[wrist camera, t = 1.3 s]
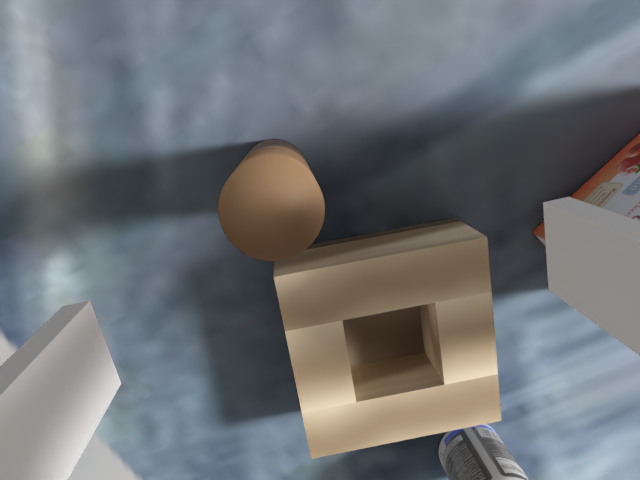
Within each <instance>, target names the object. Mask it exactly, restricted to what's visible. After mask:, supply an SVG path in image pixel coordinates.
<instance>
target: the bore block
mask: <svg viewBox="0 0 640 480" xmlns="http://www.w3.org/2000/svg"><path fill="white" fill-rule="evenodd" d="M274 281H275V286H276V291H277V296H278V300H279V305H280V310H281V315H282V320H283V325H284V329H285V334H286V339H287V344H288V349H289V354H290V358H291V363H292V368H293V373H294V378H295V382H296V387H297V392H298V397H299V402H300V407H301V411H302V416H303V421H304V426H305V431H306V436H307V440H308V445H309V450H310V455H311V459H313V458H318V457H323V456H328V455H333V454H338V453H343V452H348V451H353V450H358V449H363V448H368V447H373V446H378V445H383V444H388V443H393V442H398V441H403V440H408V439H413V438H418V437H423V436H428V435H433V434H438V433H443V432H448V431H453V430H458V429H462V428H467V427H472V426H477V425H482V424H487V423H492V422H497V421H501V409H500V396H499V383H498V369H497V356H496V343H495V330H494V317H493V304H492V291H491V278H490V264H489V251H488V238H487V236H485V235H483V234H482V233H480V232H478V231H477V230H475V229H473V228H472V227H470V226H468V225H467V224H465V223H463V222H462V221H460V220H458V219H457V218H451V219H446V220H440V221H435V222H429V223H424V224H419V225H413V226H408V227H403V228H397V229H392V230H386V231H381V232H376V233H370V234H365V235H359V236H354V237H349V238H343V239H338V240H332V241H327V242H322V243H316V244H311V245H310V246H309V247H308V248H307V249H306V250H304V251H303V252H302V253H300V254H298V255H296V256H294V257H292V258H289V259H285V260H281V261H274Z"/></svg>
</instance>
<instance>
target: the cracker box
mask: <svg viewBox="0 0 640 480" xmlns="http://www.w3.org/2000/svg"><path fill="white" fill-rule="evenodd" d="M571 198H574V199H577V200H580V201H583V202H586V203H589V204H592V205H594V206H597V207H600V208H603V209H606V210H609V211H612V212H615V213H617V214H620V215H623V216H626V217H629V218H632V219H635V220H638V221H640V133H639V134H638V135H637V136H636V137H635V138H634V139H633V140H632V141H631V142H629V143H628V144H627V145H626V146H625V147H624V148H623V149H622V150H621V151H620V152H619V153H617V154H616V155H615V156H614V157H613V158H612V159H611V160H610V161H609V162H608V163H607V164H606V165H604V166H603V167H602V168H601V169H600V170H599V171H598V172H597V173H596V174H595V175H594V176H592V177H591V178H590V179H589V180H588V181H587V182H586V183H585V184H584V185H583V186H582V187H580V188H579V189H578V190H577V191H576V192H575V193H574V194H573V195H572V196H571ZM533 233H534V234H535V235H536V236H537V238H538V239H539V240H540V241H541V242H542V243H543V244H544V245H545V247H546V243H545V227H544V221H543V222H542V223H541V224H540V225H539V226H538V227H537V228H536V229H535V230H534V231H533Z"/></svg>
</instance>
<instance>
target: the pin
mask: <svg viewBox="0 0 640 480" xmlns="http://www.w3.org/2000/svg"><path fill="white" fill-rule="evenodd" d="M218 213H219V220H220V223H221V227H222V229H223V231H224V233H225V235H226V236H227V238H228V239H229V241H230V242H231V243H232V244H233V245H234V246H235V247H236V248H237V249H238V250H240V251H241V252H242V253H244V254H246V255H248V256H250V257H252V258H255V259H259V260H263V261H281V260H285V259H289V258H292V257H294V256H296V255H298V254H300V253H302V252H303V251H304V250H306V249H307V248H308V247H309V246H310V245H311V244H312V243H313V242H314V240H315V239H316V238H317V236H318V234H319V232H320V230H321V228H322V225H323V222H324V216H325V204H324V198H323V194H322V192H321V189H320V187H319V185H318V183H317V181H316V179H315V177H314V176H313V174H312V172H311V170H310V168H309V166H308V164H307V162H306V161H305V159H304V157H303V155H302V153H301V152H300V151H299V150H298V149H297V148H296V147H295V146H294V145H292V144H291V143H289V142H287V141H284V140H280V139H269V140H265V141H262V142H260V143H258V144H256V145H255V146H254V147H253V148H252V149H251V150H250V151H249V152H248V153H247V155H246V156H245V157H244V159H243V160H242V161H241V163H240V164H239V165H238V166H237V168H236V169H235V170H234V172H233V173H232V174H231V176H230V177H229V178H228V180H227V181H226V183H225V184H224V186H223V189H222V191H221V194H220V198H219V205H218Z"/></svg>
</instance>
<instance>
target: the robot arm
mask: <svg viewBox="0 0 640 480" xmlns="http://www.w3.org/2000/svg"><path fill="white" fill-rule="evenodd" d="M543 211H544V227H545V243H546V259H547V275H548V290H549V291H551V292H552V293H554V294H555V295H556V296H558V297H559V298H561V299H562V300H563V301H565V302H566V303H567V304H569V305H570V306H572V307H573V308H574V309H576V310H577V311H579V312H580V313H581V314H583V315H584V316H585V317H587V318H588V319H590V320H591V321H592V322H594V323H595V324H597V325H598V326H599V327H601V328H602V329H603V330H605V331H606V332H608V333H609V334H610V335H612V336H613V337H614V338H616V339H617V340H619V341H620V342H621V343H623V344H624V345H626V346H627V347H628V348H630V349H631V350H632V351H634V352H635V353H637V354H638V355H639V356H640V221H638V220H635V219H632V218H629V217H626V216H623V215H620V214H617V213H615V212H612V211H609V210H606V209H603V208H600V207H597V206H594V205H592V204H589V203H586V202H583V201H580V200H577V199H574V198H571V197H565V198H561V199H556V200H551V201H547V202H543ZM120 385H121V382H120V379H119V376H118V374H117V371H116V368H115V366H114V363H113V360H112V358H111V355H110V353H109V350H108V347H107V345H106V342H105V339H104V337H103V334H102V331H101V329H100V326H99V324H98V321H97V318H96V316H95V313H94V310H93V308H92V305H91V302H90V301H86V302H81V303H77V304H72V305H67V306H63V307H62V308H61V309H60V310H59V311H58V312H57V313H56V314H55V315H54V316H52V317H51V318H50V319H49V320H48V321H47V322H46V323H45V324H44V325H43V326H42V327H41V328H40V329H39V330H38V331H37V332H36V333H35V334H34V335H33V336H32V337H31V338H29V339H28V340H27V341H26V342H25V343H24V344H23V345H22V346H21V347H20V348H19V349H18V350H17V351H16V352H15V353H14V354H13V355H12V356H11V357H10V358H9V359H8V360H7V361H5V362H4V363H3V365H1V366H0V480H68V478H69V476H70V474H71V472H72V471H73V469H74V467H75V465H76V463H77V462H78V460H79V458H80V456H81V455H82V453H83V451H84V449H85V447H86V446H87V444H88V442H89V440H90V439H91V437H92V435H93V433H94V431H95V430H96V428H97V426H98V424H99V422H100V421H101V419H102V417H103V415H104V414H105V412H106V410H107V408H108V406H109V405H110V403H111V401H112V399H113V397H114V396H115V394H116V392H117V390H118V389H119V387H120Z"/></svg>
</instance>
